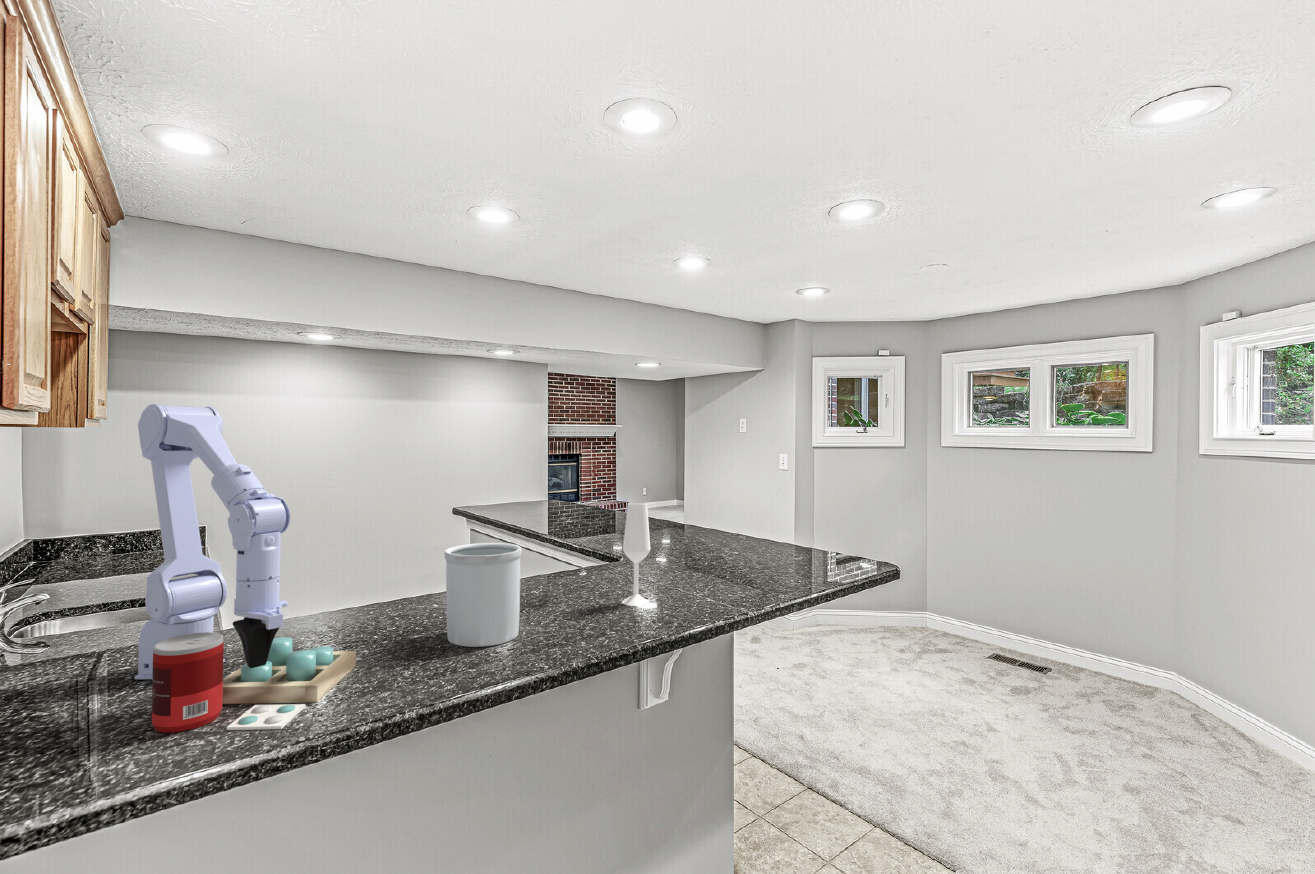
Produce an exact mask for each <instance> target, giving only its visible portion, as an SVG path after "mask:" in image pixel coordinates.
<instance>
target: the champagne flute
mask: <svg viewBox="0 0 1315 874" xmlns="http://www.w3.org/2000/svg"><path fill="white" fill-rule="evenodd" d="M649 523H650V521H649V510H648V503H646V502H628V503H627V511H626V518H625V526H624V534H623V535H624V536H623V543H622V544H623V545H622V550H623V553H624V555H625V556H626V557H627V558H628V559H629V560H630V561H631V562H633V587H632V589H633V590H632V591H633V594H631V595H630V596H629V597H627V598H624V600H622V601H621V604H623V605H626V606H631V607H641V606H647V605H649V604H650V601H649V600H647V599H646V598H644V597H642V596H641V595H640V594H639V573H640V572H639V569H640V568H639V566H640V565H639V564H640V563H641V562H643V560H644V559H646V557H647V556H648V555H649V553H650V552H651V540H650V538H651V536H650V526H649Z"/></svg>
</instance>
